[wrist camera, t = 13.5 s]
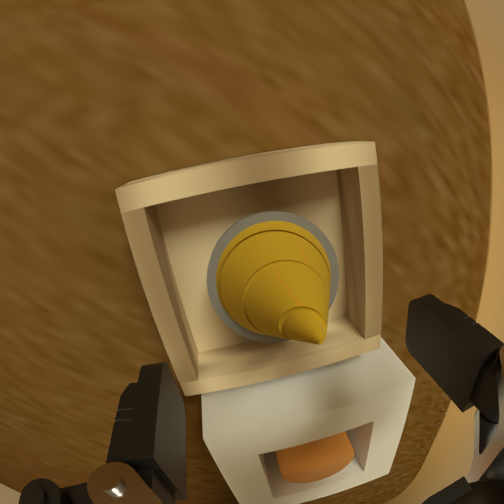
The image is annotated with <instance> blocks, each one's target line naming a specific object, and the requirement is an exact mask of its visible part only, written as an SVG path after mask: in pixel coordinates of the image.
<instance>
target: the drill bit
mask: <svg viewBox="0 0 504 504" xmlns="http://www.w3.org/2000/svg"><path fill="white" fill-rule="evenodd" d="M206 282H207V289H208V295H209V298H210V301H211V304H212V307H213V308H214V310H215V312H216V313H217V315H218V317H219V318H220V319H221V320H222V321H223V322H224V323H225V324H226V326H227V327H229V328H230V329H231V330H233V331H234V332H236V333H237V334H239V335H241V336H243V337H245V338H247V339H250V340H254V341H258V342H267V343H276V342H283V341H288V340H295V341H301V342H306V343H312V344H318V345H321V344H322V343H323V342H324V340H325V338H326V334H327V324H328V313H329V309H330V307H331V306H332V304H333V302H334V299H335V296H336V293H337V290H338V284H339V265H338V261H337V257H336V253H335V251H334V249H333V247H332V244H331V242H330V241H329V239H328V238H327V237H326V235H325V234H324V233H323V232H322V231H321V230H320V229H319V228H318V227H317V226H316V225H315V224H313V223H312V222H310V221H308V220H307V219H305V218H303V217H301V216H298V215H295V214H292V213H288V212H279V211H270V212H260V213H256V214H253V215H250V216H247V217H245V218H243V219H241V220H239V221H237V222H236V223H234V224H233V225H232V226H231V227H230V228H228V229H227V230H226V231H225V232H224V234H223V235H222V236H221V237H220V239H219V240H218V241H217V243H216V245H215V247H214V249H213V251H212V254H211V257H210V261H209V264H208V268H207V281H206Z"/></svg>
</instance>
